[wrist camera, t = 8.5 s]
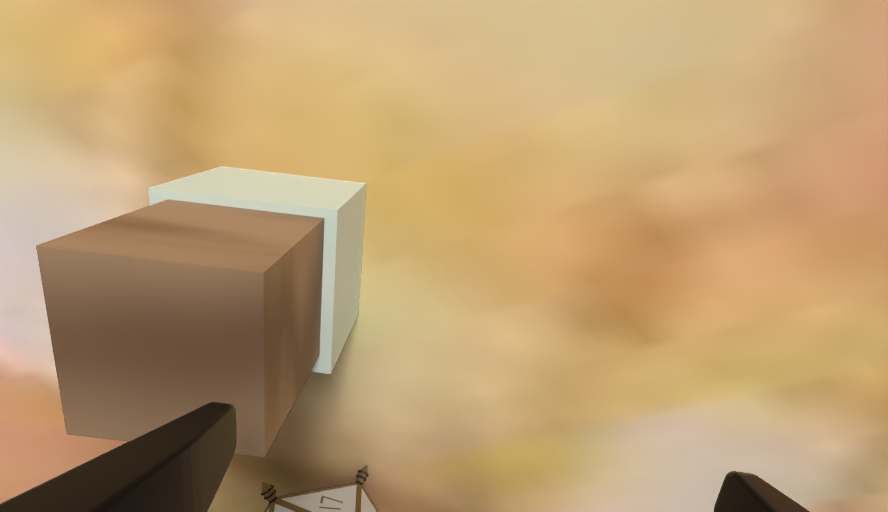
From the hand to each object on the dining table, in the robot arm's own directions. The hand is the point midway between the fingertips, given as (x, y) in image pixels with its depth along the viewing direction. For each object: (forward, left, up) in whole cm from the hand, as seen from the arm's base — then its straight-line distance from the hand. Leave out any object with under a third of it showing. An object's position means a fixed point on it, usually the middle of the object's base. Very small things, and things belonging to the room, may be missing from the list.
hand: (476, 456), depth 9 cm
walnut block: (+7, +1, -8) cm, 11 cm away
